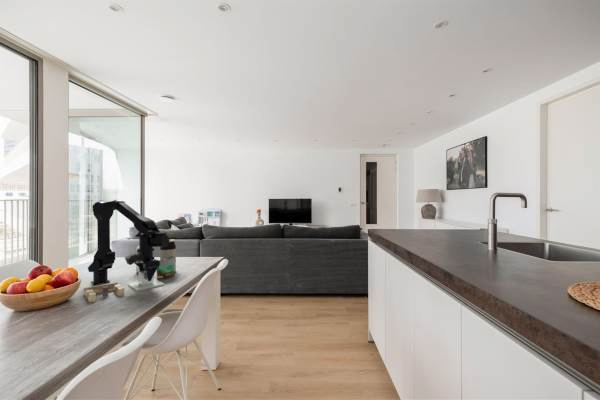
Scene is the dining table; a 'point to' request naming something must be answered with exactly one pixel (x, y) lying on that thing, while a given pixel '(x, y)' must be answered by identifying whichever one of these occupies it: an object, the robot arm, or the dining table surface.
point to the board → (138, 287)
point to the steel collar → (144, 278)
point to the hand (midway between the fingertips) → (146, 279)
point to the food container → (166, 268)
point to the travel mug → (168, 251)
